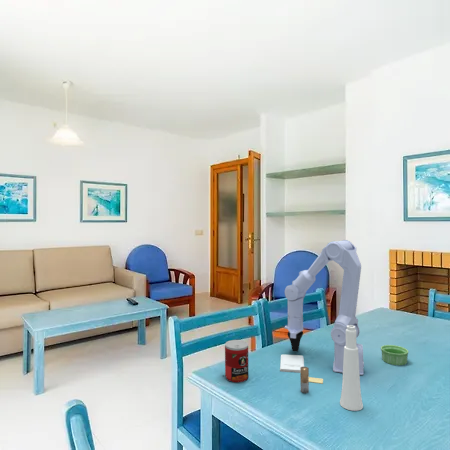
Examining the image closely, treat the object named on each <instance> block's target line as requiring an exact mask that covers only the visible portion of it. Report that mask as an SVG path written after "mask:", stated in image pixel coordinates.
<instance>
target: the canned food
mask: <svg viewBox="0 0 450 450" xmlns="http://www.w3.org/2000/svg"><path fill="white" fill-rule="evenodd" d="M224 367H225V368H224V370H225V371H224V372H225V374H224V375H225V378H226V380H227V379H228V380H227V381H229V382H231V381H232V382H231V383H243V382H246V381H247V380H248V378H249V343H248V342H247V341H244V340H241V339H232V340H228V341H226V342H225V344H224Z"/></svg>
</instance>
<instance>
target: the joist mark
mask: <svg viewBox="0 0 450 450" xmlns="http://www.w3.org/2000/svg"><path fill="white" fill-rule="evenodd" d="M309 383H315V384H322V385H323V384H324V378H320V377H319V378H318V377H311V376H309Z"/></svg>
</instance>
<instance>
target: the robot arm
mask: <svg viewBox="0 0 450 450" xmlns="http://www.w3.org/2000/svg"><path fill="white" fill-rule="evenodd" d="M332 261H333V262H334V263H337V264H338V265H339V266H340V267H341V269H342V270H343V276H342V284H341V292H340V303H339V311H338V314H337V315H338V316H337V317H336V318H335V321H334V324H333V327H332V328H331V331H330V337H331V339H332V341H333V342H334V343H333V344H334V353H333V355H334V356H333V357H334V361H332V362H333V363H332V365H333V367H332V371H333V372H334V373H342V374H343V360H344V346H346V329H347V325H353V326H355V330H356V339H357V338H358V337H359V335H360V332H361V331H360V327H359V320H358V318H357V317H356V314H357V306H358V298H359V296H358V295H359V289H360V288H359V287H360V280H361V272H362V264H361V263H362V262H361V261H360V258H359V255H358V254H357V247H356V246H355V245H354V244H353V243H352V242H351V241H350V240H348V239H343V240H336V241H335V240H333V241H330V242H327V244H326V245H325V246H324V247H323V248H322V249H321V252H320V253H319V255H318V256H317V257H316V258H315V260H314V261H313V263H312V264H311V265H310V267H309V268H308V269H304V270H301V271H299V272H298V276H297V278H295V280H292V282H291V283H292V284H290V285H289V284H288V285H287V286H286V287H285V289H284V296H285V298H286V299H287V325H285V326H284V329H286V330H288V332H287V337H288V339H289V342H290V347H291V351H292V352H299V349H300V345H301V344H300V343H301V340H302V337H303V335H304V317H303V316H304V315H303V313H304V310H303V307H304V298H305V296H306V295H307V291H308V290H309V289H310V288H311V286H313V284H314V283H315V282H316V276H317V275H318V274H319V272H321V270H322V269H324V267H325V266H326V265H327V264H328V263H329V262H332ZM356 347H357V348H358V355H359V375H360V376H364V366H365V362H364V345H363V344H362V343H358V342H357V341H356Z"/></svg>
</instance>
